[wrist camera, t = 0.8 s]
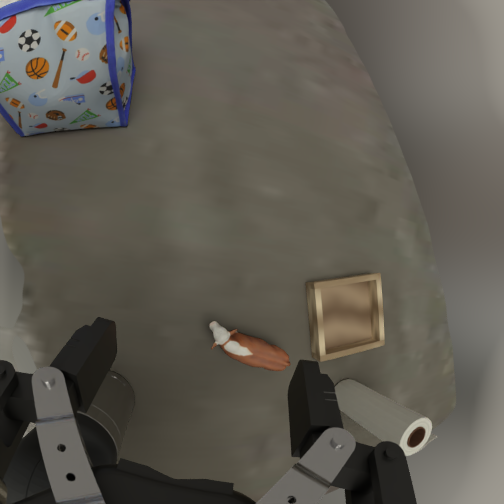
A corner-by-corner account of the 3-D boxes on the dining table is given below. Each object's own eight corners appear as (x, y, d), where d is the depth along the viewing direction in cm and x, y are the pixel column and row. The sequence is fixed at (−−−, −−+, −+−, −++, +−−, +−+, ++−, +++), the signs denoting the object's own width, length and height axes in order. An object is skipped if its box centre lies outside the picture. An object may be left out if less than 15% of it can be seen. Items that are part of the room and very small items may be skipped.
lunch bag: (141, 57, 49) (134, -51, 23) (134, 129, 48) (109, 19, 22) (37, 74, 44) (-9, -13, 18) (20, 145, 43) (-56, 70, 17)
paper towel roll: (324, 393, 51) (394, 442, 31) (349, 372, 53) (426, 409, 32) (341, 417, 52) (409, 467, 31) (365, 396, 53) (439, 437, 32)
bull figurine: (210, 311, 48) (215, 318, 40) (282, 346, 50) (300, 358, 43) (197, 336, 48) (200, 347, 40) (270, 369, 50) (286, 385, 42)
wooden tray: (373, 341, 54) (384, 344, 51) (311, 356, 51) (320, 361, 48) (369, 273, 55) (380, 273, 52) (305, 282, 52) (314, 282, 49)
